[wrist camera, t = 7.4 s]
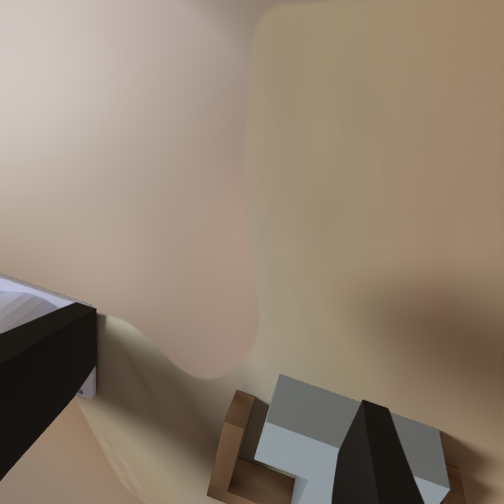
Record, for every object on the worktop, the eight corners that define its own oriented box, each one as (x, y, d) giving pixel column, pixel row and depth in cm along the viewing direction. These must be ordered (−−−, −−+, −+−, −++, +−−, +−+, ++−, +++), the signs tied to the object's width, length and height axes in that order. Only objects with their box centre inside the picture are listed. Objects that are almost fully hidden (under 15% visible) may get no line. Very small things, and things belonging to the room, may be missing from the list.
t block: (252, 460, 27) (237, 511, 24) (279, 373, 23) (265, 421, 20) (386, 511, 25) (389, 572, 22) (438, 428, 22) (450, 489, 19)
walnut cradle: (219, 462, 28) (206, 495, 26) (236, 390, 24) (223, 421, 22) (410, 536, 26) (414, 578, 24) (458, 469, 22) (467, 511, 20)
